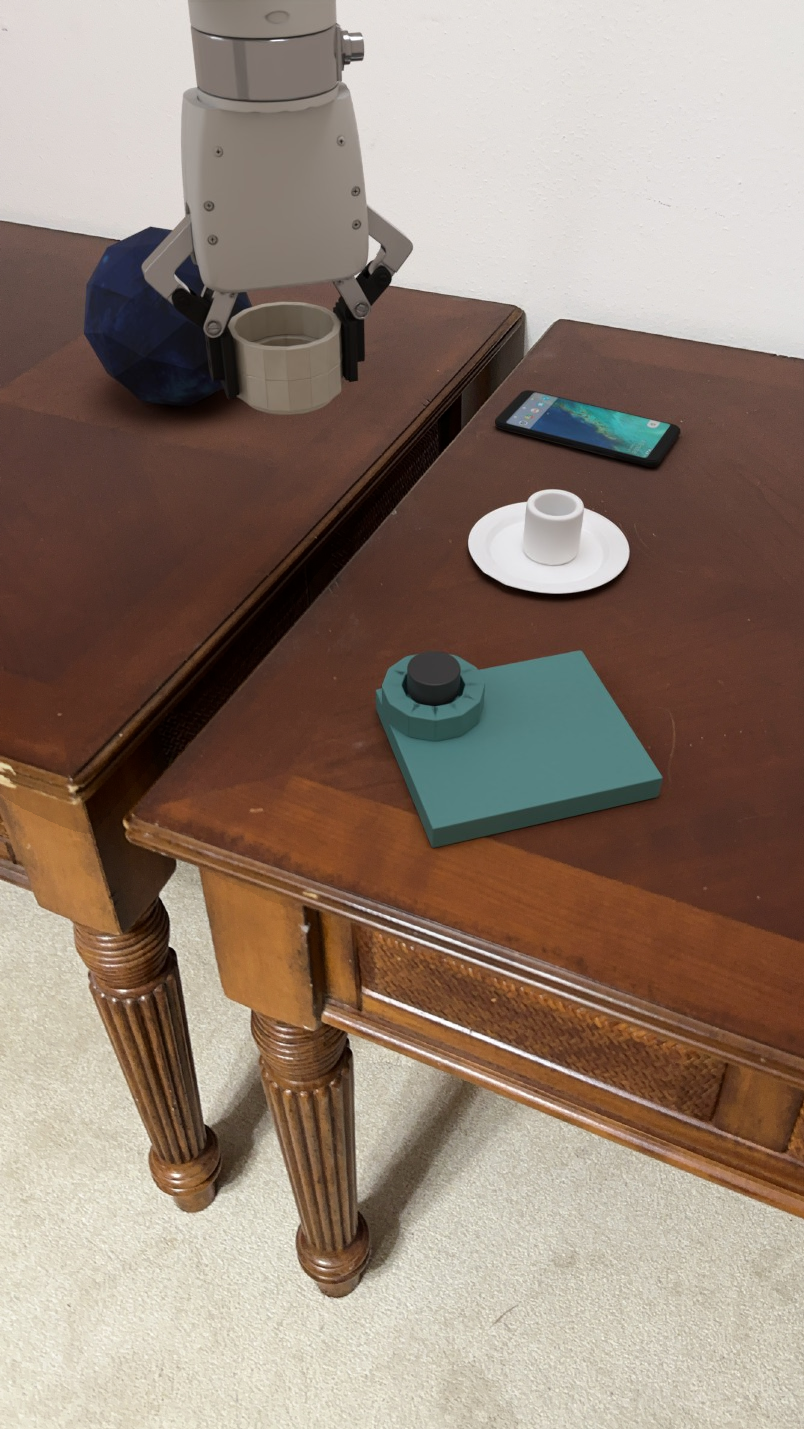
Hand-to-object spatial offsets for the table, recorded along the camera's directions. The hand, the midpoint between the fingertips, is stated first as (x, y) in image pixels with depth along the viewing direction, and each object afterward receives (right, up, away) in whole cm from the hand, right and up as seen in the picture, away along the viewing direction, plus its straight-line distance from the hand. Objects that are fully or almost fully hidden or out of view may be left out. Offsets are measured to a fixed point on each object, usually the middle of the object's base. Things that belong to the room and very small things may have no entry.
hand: (288, 378), depth 70 cm
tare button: (+9, -20, -3) cm, 22 cm away
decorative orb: (-13, +8, +31) cm, 35 cm away
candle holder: (+18, -9, +13) cm, 24 cm away
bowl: (0, -1, +1) cm, 1 cm away
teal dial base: (+14, -24, -2) cm, 28 cm away
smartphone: (+23, +3, +26) cm, 35 cm away
